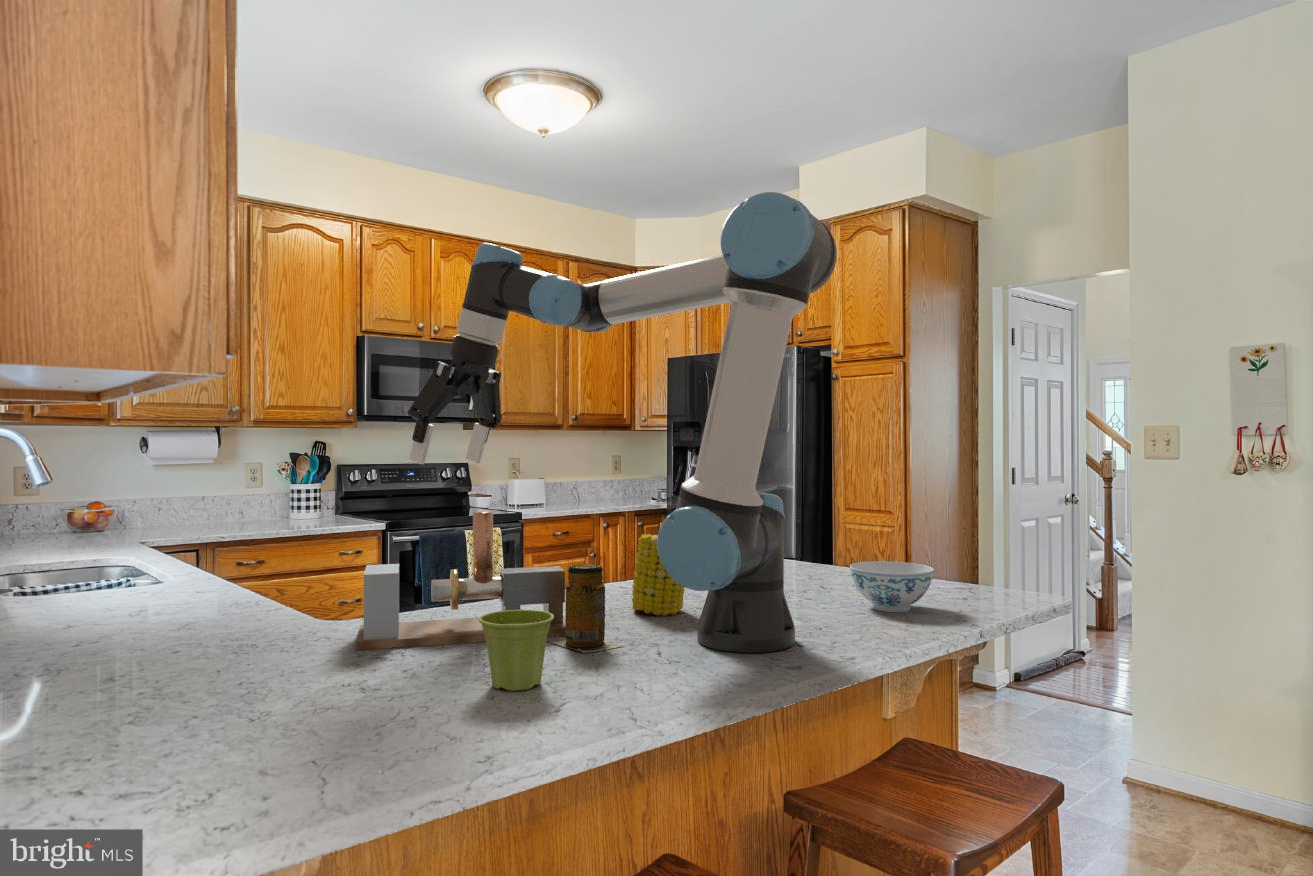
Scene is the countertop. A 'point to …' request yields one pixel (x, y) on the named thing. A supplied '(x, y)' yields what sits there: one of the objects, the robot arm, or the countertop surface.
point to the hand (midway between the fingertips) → (445, 461)
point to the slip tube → (483, 578)
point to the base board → (437, 633)
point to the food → (654, 582)
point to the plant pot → (516, 646)
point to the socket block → (381, 601)
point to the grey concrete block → (534, 589)
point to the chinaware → (891, 583)
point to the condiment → (585, 610)
